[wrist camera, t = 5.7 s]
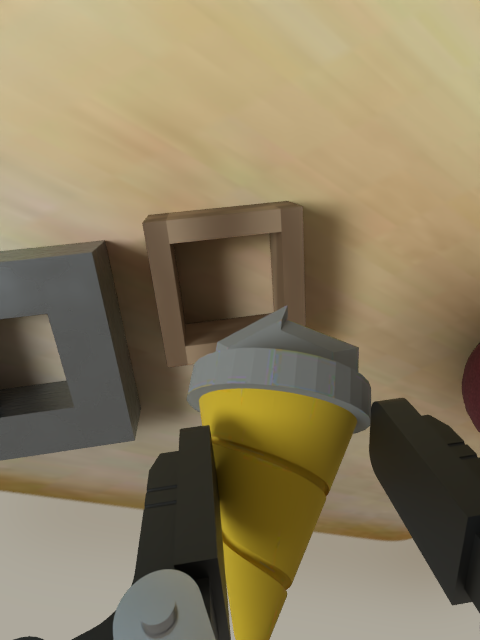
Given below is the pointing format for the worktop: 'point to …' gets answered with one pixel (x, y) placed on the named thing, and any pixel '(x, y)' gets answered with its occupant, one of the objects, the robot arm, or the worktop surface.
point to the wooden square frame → (197, 225)
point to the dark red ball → (472, 387)
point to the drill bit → (275, 451)
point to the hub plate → (68, 353)
